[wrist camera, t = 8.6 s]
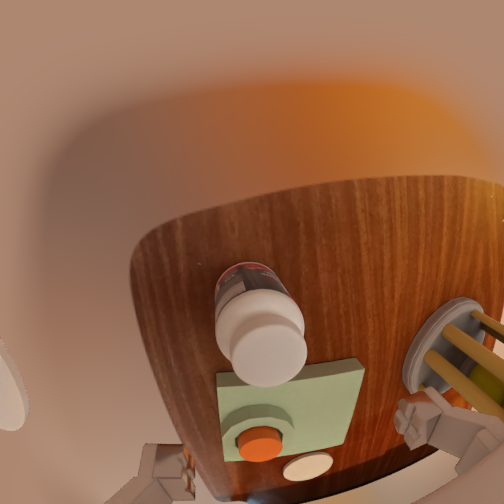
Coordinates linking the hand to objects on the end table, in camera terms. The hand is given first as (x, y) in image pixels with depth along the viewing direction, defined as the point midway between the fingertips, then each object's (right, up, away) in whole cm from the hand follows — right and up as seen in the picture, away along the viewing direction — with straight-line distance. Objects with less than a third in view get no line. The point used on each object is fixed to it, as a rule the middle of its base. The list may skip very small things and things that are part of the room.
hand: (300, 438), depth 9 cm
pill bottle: (-2, +3, +15) cm, 15 cm away
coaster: (+6, -23, +22) cm, 32 cm away
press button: (-1, -11, +15) cm, 18 cm away
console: (+2, -10, +18) cm, 21 cm away
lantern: (+23, -6, +20) cm, 31 cm away
